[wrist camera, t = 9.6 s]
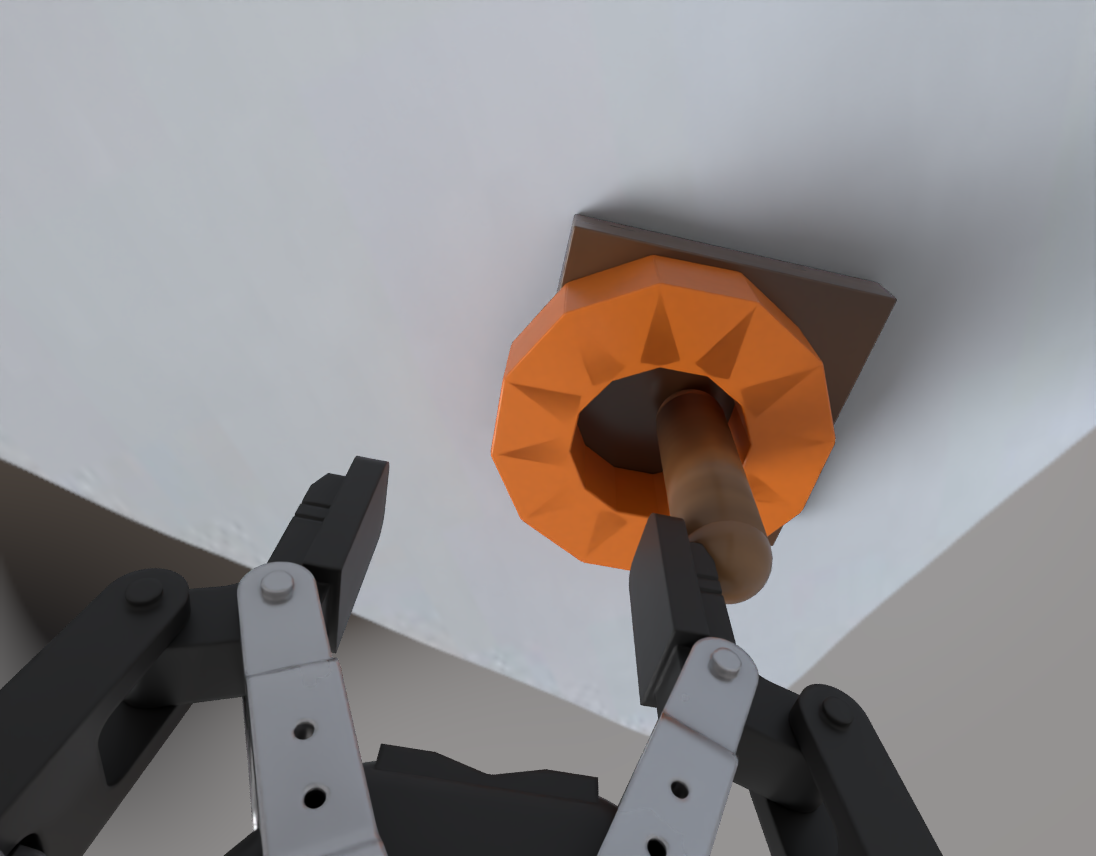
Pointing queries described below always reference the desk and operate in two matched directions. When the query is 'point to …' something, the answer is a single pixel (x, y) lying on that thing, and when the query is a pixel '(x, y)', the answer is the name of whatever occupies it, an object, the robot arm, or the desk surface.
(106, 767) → the robot arm
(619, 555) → the orange faceted ring
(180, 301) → the desk surface
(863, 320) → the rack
